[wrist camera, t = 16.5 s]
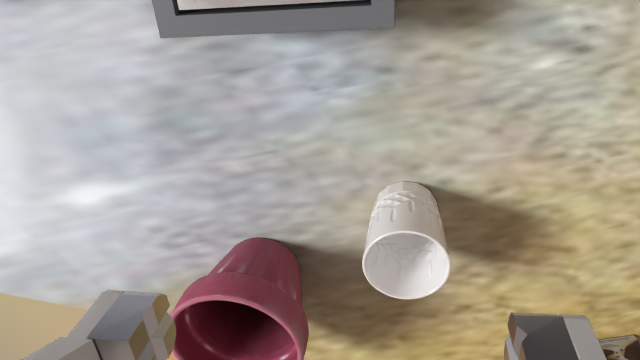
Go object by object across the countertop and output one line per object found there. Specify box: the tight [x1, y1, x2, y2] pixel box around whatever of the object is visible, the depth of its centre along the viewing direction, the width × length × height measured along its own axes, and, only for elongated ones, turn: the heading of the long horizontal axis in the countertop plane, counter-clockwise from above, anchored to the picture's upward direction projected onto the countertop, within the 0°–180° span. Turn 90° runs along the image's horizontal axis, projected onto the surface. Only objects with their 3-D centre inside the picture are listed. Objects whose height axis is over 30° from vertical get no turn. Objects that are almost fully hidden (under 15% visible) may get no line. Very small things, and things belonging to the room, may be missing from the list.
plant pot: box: [171, 238, 309, 360], centre depth 54 cm, size 14×14×13 cm
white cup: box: [362, 181, 451, 299], centre depth 48 cm, size 8×8×10 cm
